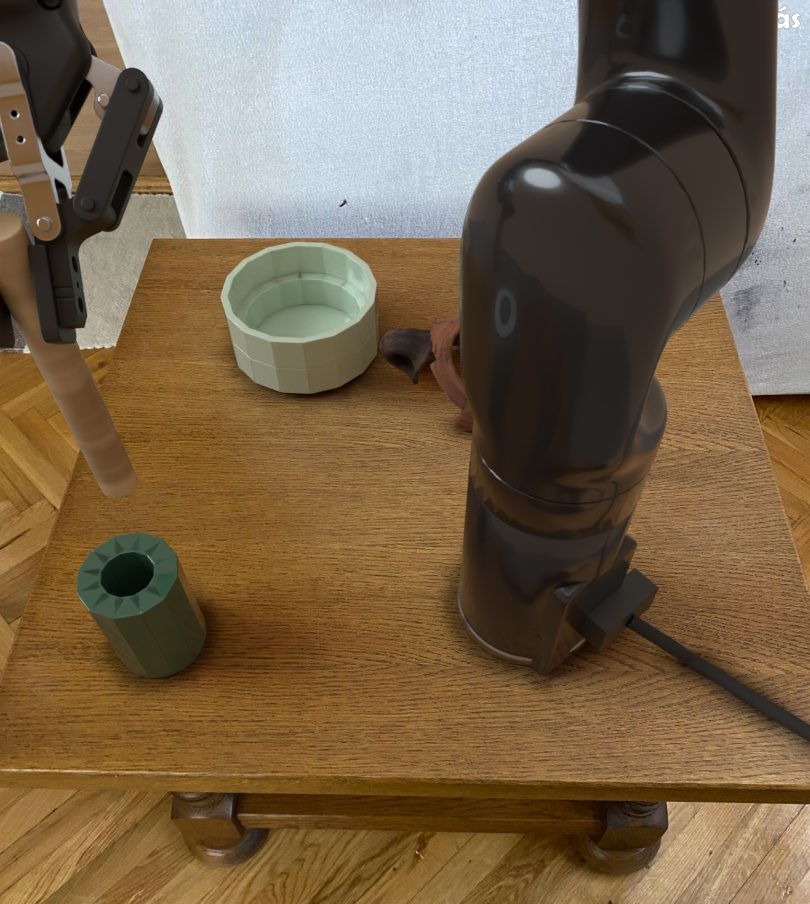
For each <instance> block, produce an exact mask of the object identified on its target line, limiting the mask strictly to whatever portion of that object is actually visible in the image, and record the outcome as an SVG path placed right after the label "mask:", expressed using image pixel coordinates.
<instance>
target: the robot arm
mask: <svg viewBox="0 0 810 904" xmlns="http://www.w3.org/2000/svg"><path fill="white" fill-rule="evenodd" d="M576 4H577V5H576V12H577V13H576V14H577V62H576V63H577V64H576V65H577V66H576V80H575V92H574V99H573V104H572V107H571V108H569V109H568V110H566V111H565V112H563V113H562V114H560V115H558V116H557V117H556V118H554V119H553V120H552V121H550V122H549V123H547V124H546V125H544V126H543V127H541V128H540V129H539V130H537V131H535V132H534V133H532V134H531V135H530V136H528V137H527V138H526V139H524V140H523V141H522V142H520V143H518V144H517V145H515V146H513V147H512V148H511V149H509V150H508V151H507V152H506V153H504V154H502V156H500V157H499V158H498V159H496V161H494V162H493V163H492V164H491V165H490V166H489V167H488V168H487V169H486V170H485V172H484V173H483V175H482V176H481V177H480V179H479V180H478V182H477V184H476V186H475V187H474V190H473V192H472V194H471V196H470V199H469V202H468V205H467V208H466V212H465V216H464V220H463V224H462V230H461V237H460V247H459V262H458V263H459V267H458V268H459V269H458V273H459V274H458V277H459V278H458V296H459V297H458V299H459V301H458V303H459V307H458V308H459V311H458V312H459V313H460V347H459V370H460V371H459V372H460V378H461V379H462V383H463V389H464V392H465V395H466V399H467V401H468V404H469V407H470V409H471V411H472V414H473V417H474V418H473V429H472V430H471V441H470V443H471V444H470V452H469V453H470V454H469V464H468V474H467V475H468V476H467V488H466V502H465V512H464V513H465V514H464V525H463V536H462V547H461V549H462V550H461V558H460V559H461V561H460V574H459V575H460V576H459V579H458V580H459V581H458V584H457V593H456V604H457V605H456V606H457V607H456V608H457V611H458V616H459V619H460V621H461V624H462V626H463V628H464V630H465V631H466V633H467V634H468V635H469V637H470V638H471V639H472V641H473V642H474V643H475V644H476V645H478V646H479V647H480V648H481V649H483V650H484V651H485V652H487V653H488V654H490V655H491V656H493V657H495V658H497V659H499V660H502V661H504V662H507V663H511V664H515V665H522V666H529V667H532V668H533V669H535V670H536V671H537V673H539V674H540V675H541V676H548V675H549V674H550V673H552V672H553V671H554V670H555V669H556V668H557V667H559V666H560V664H562V663H563V662H564V661H565V660H566V659H567V658H569V657H570V656H572V655H574V654H575V653H576V652H577V651H578V650H580V649H581V648H582V647H583V646H584V645H585V644H586V643H589V644H590V645H591V646H592V647H593V648H594V649H596V650H597V652H601V651H603V650H604V649H605V648H606V647H607V646H608V645H609V644H610V643H612V642H614V640H615V639H617V637H619V636H620V635H621V634H622V633H623V632H624V631H625V630H627V629H629V630H631V631H632V632H634V633H635V634H636V635H639V636H640V637H642V638H643V639H645V640H647V642H650V643H651V644H653V645H655V646H656V647H658V648H659V649H661V650H663V651H664V652H665V653H666V654H669V655H670V656H672V657H673V658H676V660H678V661H680V662H681V663H683V664H684V665H686V666H688V667H689V668H691V669H692V670H694V671H695V672H697V673H699V674H700V675H701V676H703V677H705V678H706V679H708V680H710V681H712V682H713V683H715V684H717V685H718V686H719V687H722V688H723V689H724V690H726V691H728V692H729V693H730V694H732V695H734V696H735V697H736V698H738V699H739V700H740V701H743V702H744V703H745V704H747V705H748V706H750V707H752V708H753V709H755V710H756V711H758V712H760V713H761V714H763V715H764V716H766V717H767V718H769V719H771V720H773V721H774V722H776V723H777V724H779V725H781V726H782V727H784V728H786V729H787V730H789V731H791V732H793V733H794V734H796V735H798V736H799V737H801V738H802V739H805V740H806V741H808V742H810V723H808V722H806V721H805V720H803V719H801V718H799V717H797V716H796V715H794V714H792V713H791V712H789V711H787V710H786V709H784V708H782V707H781V706H780V705H778V704H776V703H774V702H773V701H771V700H770V699H767V697H764V696H763V695H761V694H760V693H758V692H756V691H754V690H753V689H751V688H750V687H749V686H747V685H746V684H743V683H742V682H740V681H739V680H737V679H735V678H734V677H733V676H731V675H729V674H728V673H726V672H725V671H723V670H721V669H720V668H718V667H716V666H715V665H713V664H712V663H710V662H709V661H707V660H706V659H704V658H703V657H701V656H700V655H698V654H696V653H695V652H693V651H692V650H690V649H688V648H687V647H685V646H684V645H683V644H681V643H680V642H678V641H677V640H675V639H674V638H672V637H671V636H669V635H667V634H666V633H664V632H663V631H661V630H659V629H658V628H656V627H654V626H653V625H652V624H650V623H649V622H647V621H645V620H643V619H642V618H640V617H641V616H642V615H644V613H646V612H647V611H648V610H649V609H650V608H651V606H652V604H653V602H654V600H655V598H656V596H657V594H658V591H659V589H660V588H659V586H658V585H656V583H654V582H653V581H652V580H651V579H650V578H648V577H647V576H646V575H645V574H643V573H642V572H641V571H639V570H638V569H637V568H636V567H634V568H633V569H631V570H630V571H629V569H630V566H631V564H632V561H633V559H634V556H635V554H636V551H637V549H638V542H637V540H636V539H635V538H633V537H632V536H631V535H629V534H628V531H629V529H630V526H631V524H632V520H633V517H634V515H635V511H636V510H637V507H638V505H639V501H640V499H641V496H642V493H643V490H644V489H645V486H646V483H647V481H648V477H649V474H650V472H651V469H652V466H653V464H654V462H655V460H656V458H657V455H658V452H659V449H660V447H661V444H662V441H663V438H664V434H665V431H666V427H667V421H668V403H667V397H666V395H665V392H664V391H665V390H664V389H663V386H662V385H661V382H660V381H659V379H658V377H657V376H656V375H655V373H656V370H657V367H658V365H659V362H660V359H661V357H662V355H663V352H664V350H665V348H666V345H667V344H668V342H669V340H670V339H671V338H672V337H674V335H675V334H677V333H678V332H679V331H680V330H681V329H682V328H683V327H684V326H685V325H686V324H687V323H688V322H689V321H690V320H691V319H692V318H693V317H694V316H695V315H696V314H697V313H699V311H701V309H703V308H704V307H705V306H706V305H707V304H708V303H709V302H710V301H711V300H712V299H713V298H714V297H715V296H716V295H717V294H718V293H719V292H720V291H721V290H722V289H723V288H724V287H725V286H727V284H728V283H730V281H731V280H732V279H733V278H734V277H735V276H736V274H737V273H738V272H739V271H740V269H741V267H742V266H743V265H744V263H746V261H747V259H748V258H749V257H750V255H751V254H752V252H753V250H754V248H755V247H756V245H757V242H758V241H759V239H760V236H761V234H762V232H763V230H764V227H765V223H766V220H767V217H768V213H769V211H770V206H771V200H772V194H773V188H774V178H775V166H776V165H775V163H776V145H777V143H776V141H777V102H778V101H777V93H778V92H777V91H778V41H779V40H778V37H779V0H576ZM78 5H79V4H78V0H0V164H1V163H4V162H7V161H8V162H9V166H10V169H11V171H12V174H13V176H14V177H15V179H16V181H17V183H18V186H19V189H20V193H21V198H22V202H23V205H24V210H25V215H26V218H27V223H28V226H29V227H28V228H29V230H30V232H31V233H32V235H33V240H34V245H28V247H27V248H28V255H29V261H30V267H31V273H32V279H33V286H34V292H35V298H36V304H37V311H38V317H39V323H40V329H41V334H42V337H43V339H44V341H45V342H46V343H50V344H56V345H60V344H73V343H75V342H76V341H77V330H76V329H85V328H86V324H87V319H88V309H87V304H86V303H87V302H86V296H85V291H84V290H85V287H84V282H83V276H82V269H81V263H80V262H81V261H80V255H79V253H80V248H81V246H82V245H83V243H85V241H86V240H88V239H89V238H91V237H93V236H95V235H97V234H100V233H102V232H103V233H112V232H115V231H116V230H118V228H119V227H120V225H121V223H122V220H123V218H124V215H125V213H126V209H127V207H128V204H129V201H130V200H131V196H132V194H133V191H134V188H135V186H136V183H137V181H138V178H139V175H140V173H141V170H142V169H143V168H142V167H143V165H144V162H145V160H146V157H147V155H148V151H149V149H150V146H151V143H152V141H153V140H154V139H153V138H154V136H155V134H156V130H157V128H158V125H159V122H160V120H161V118H162V114H163V111H164V102H163V100H162V98H161V96H160V95H159V92H158V90H157V89H156V87H155V86H154V84H153V83H152V81H151V80H150V79H149V78H148V77H147V74H145V72H144V71H143V70H141V69H140V68H137V67H127V68H125V69H122V68H120V67H118V66H115V65H114V64H112V63H110V62H108V61H105V60H104V59H102V58H100V57H99V56H98V53H97V51H96V49H95V47H94V45H93V44H92V43H91V41H90V40H89V38H88V36H87V35H86V33H85V31H84V29H83V26H82V24H81V20H80V14H79V6H78ZM92 90H93V91H94V101H93V109H94V110H93V111H94V113H95V115H96V116H97V117H98V118H99V119H100V121H101V122H100V125H99V127H98V130H97V133H96V135H95V138H94V140H93V144H92V146H91V149H90V152H89V155H88V157H87V160H86V163H85V166H84V168H83V171H82V174H81V177H80V180H79V182H78V185H77V188H76V190H75V193H74V195H73V196H72V190H73V182H72V178H71V173H70V169H69V164H68V160H67V156H66V151H65V147H64V144H65V142H66V140H67V138H68V137H69V135H70V132H71V130H72V129H73V126H74V125H75V123H76V121H77V119H78V117H79V116H80V113H81V111H82V109H83V108H84V105H85V104H86V102H87V99H88V97H89V96H90V94H91V92H92ZM12 319H13V318H12V316H11V314H10V312H9V310H8V308H7V306H6V304H5V302H4V300H3V298H2V296H1V294H0V350H6V349H7V350H8V349H14V347H15V345H16V339H15V332H14V326H13V320H12Z"/></svg>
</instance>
